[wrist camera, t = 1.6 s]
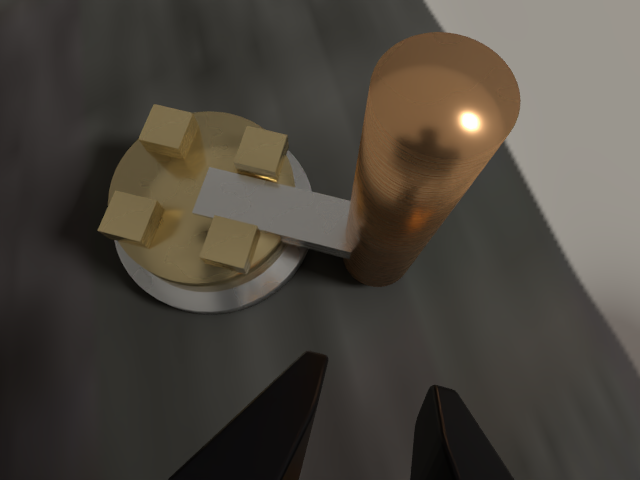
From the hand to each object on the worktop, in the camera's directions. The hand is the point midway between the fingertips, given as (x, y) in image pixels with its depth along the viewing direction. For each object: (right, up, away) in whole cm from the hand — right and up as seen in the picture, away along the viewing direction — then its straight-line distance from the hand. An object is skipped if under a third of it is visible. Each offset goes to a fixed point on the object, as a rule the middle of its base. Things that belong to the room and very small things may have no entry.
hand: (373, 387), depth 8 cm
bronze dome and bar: (-3, +3, +14) cm, 14 cm away
